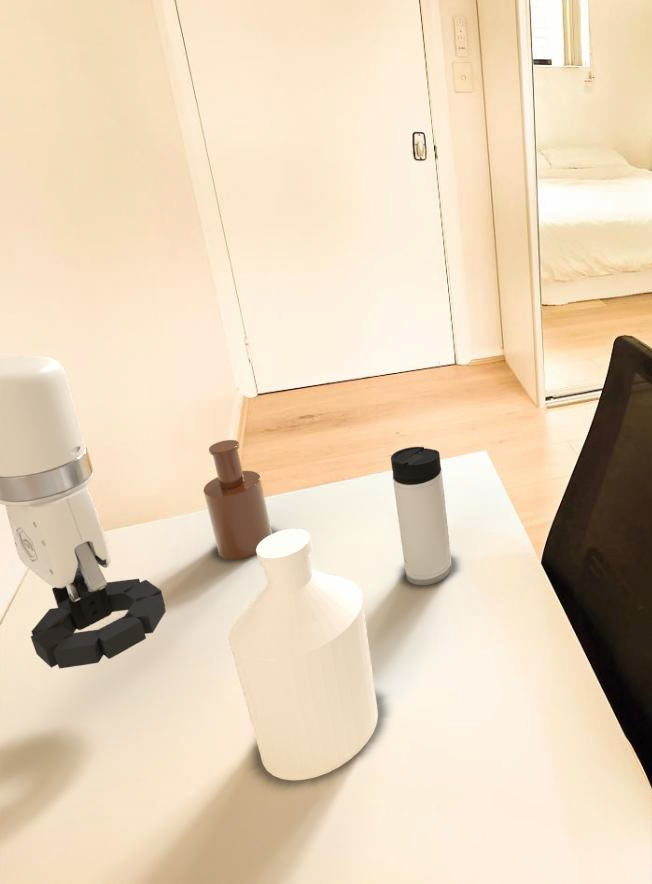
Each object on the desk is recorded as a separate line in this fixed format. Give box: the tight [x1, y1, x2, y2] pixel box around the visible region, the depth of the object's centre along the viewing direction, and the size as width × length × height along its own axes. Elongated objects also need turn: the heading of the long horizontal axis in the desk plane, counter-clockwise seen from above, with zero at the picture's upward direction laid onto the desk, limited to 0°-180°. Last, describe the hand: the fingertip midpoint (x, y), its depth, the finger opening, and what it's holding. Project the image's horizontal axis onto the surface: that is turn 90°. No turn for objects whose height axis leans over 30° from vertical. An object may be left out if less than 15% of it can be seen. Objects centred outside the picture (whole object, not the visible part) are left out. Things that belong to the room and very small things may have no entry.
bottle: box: [228, 528, 379, 781], centre depth 71 cm, size 12×12×25 cm
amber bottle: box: [203, 439, 273, 561], centre depth 101 cm, size 7×7×17 cm
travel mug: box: [390, 446, 453, 586], centre depth 97 cm, size 6×7×20 cm
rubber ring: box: [30, 578, 167, 669], centre depth 75 cm, size 10×10×2 cm
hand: (86, 614), depth 77 cm, fingers closed on rubber ring, 2 cm apart
